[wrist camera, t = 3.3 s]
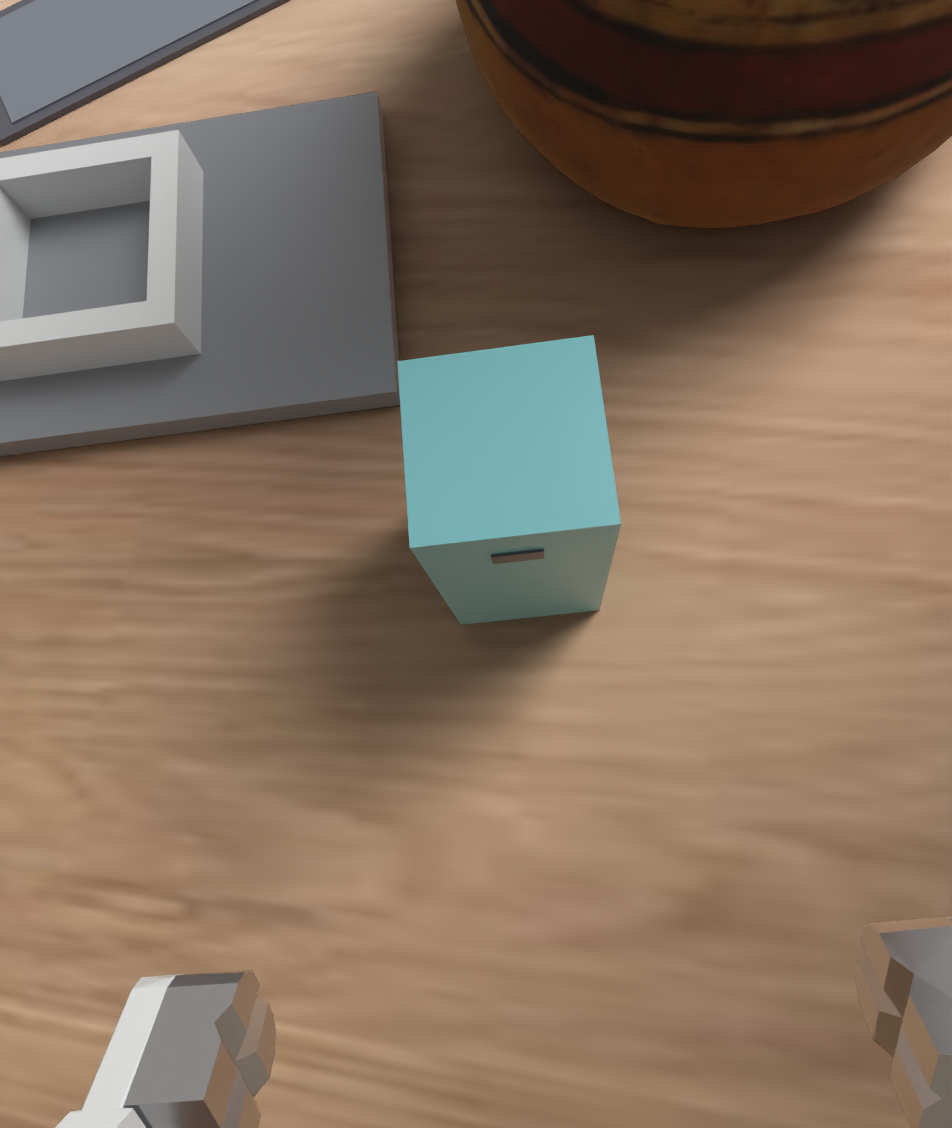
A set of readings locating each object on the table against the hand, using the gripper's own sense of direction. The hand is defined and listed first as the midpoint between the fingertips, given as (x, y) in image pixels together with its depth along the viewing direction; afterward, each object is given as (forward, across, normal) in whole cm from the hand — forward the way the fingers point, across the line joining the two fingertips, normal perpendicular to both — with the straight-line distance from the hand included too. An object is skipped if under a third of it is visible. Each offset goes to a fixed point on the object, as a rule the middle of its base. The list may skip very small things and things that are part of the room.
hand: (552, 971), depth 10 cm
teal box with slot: (+16, 0, +2) cm, 16 cm away
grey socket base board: (+25, +15, -6) cm, 30 cm away
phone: (+35, +15, -16) cm, 41 cm away
